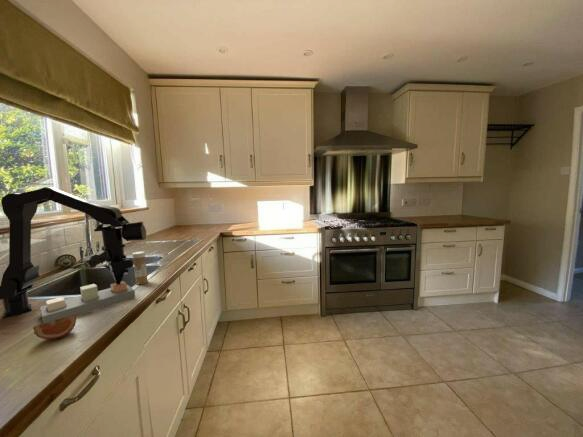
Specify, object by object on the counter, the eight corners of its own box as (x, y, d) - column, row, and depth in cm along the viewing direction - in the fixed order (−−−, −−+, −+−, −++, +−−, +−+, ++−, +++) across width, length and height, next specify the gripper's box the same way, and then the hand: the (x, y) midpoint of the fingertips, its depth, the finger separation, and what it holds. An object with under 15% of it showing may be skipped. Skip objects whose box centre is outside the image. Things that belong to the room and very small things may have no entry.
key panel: (41, 315, 80) (39, 306, 80) (126, 291, 98) (126, 283, 98) (43, 326, 74) (42, 316, 73) (135, 297, 91) (134, 290, 91)
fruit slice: (35, 349, 62) (32, 330, 62) (35, 338, 67) (32, 321, 66) (79, 334, 68) (76, 317, 68) (76, 325, 73) (73, 309, 72)
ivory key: (48, 315, 79) (46, 300, 79) (65, 310, 82) (62, 296, 82) (49, 319, 77) (47, 304, 76) (66, 314, 80) (64, 299, 79)
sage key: (81, 300, 85) (79, 287, 85) (96, 296, 88) (94, 283, 88) (84, 303, 83) (82, 290, 82) (98, 299, 86) (97, 286, 85)
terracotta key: (112, 296, 92) (110, 284, 91) (124, 293, 95) (123, 280, 94) (115, 299, 89) (113, 286, 89) (127, 295, 92) (126, 283, 92)
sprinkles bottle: (133, 284, 105) (129, 253, 103) (142, 280, 109) (139, 250, 108) (141, 285, 104) (138, 254, 102) (150, 281, 108) (147, 251, 106)
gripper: (79, 243, 90) (85, 284, 92) (90, 250, 77) (96, 298, 79) (116, 238, 98) (120, 276, 100) (131, 243, 86) (136, 287, 87)
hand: (118, 283), depth 91 cm, fingers closed, pressing on terracotta key
